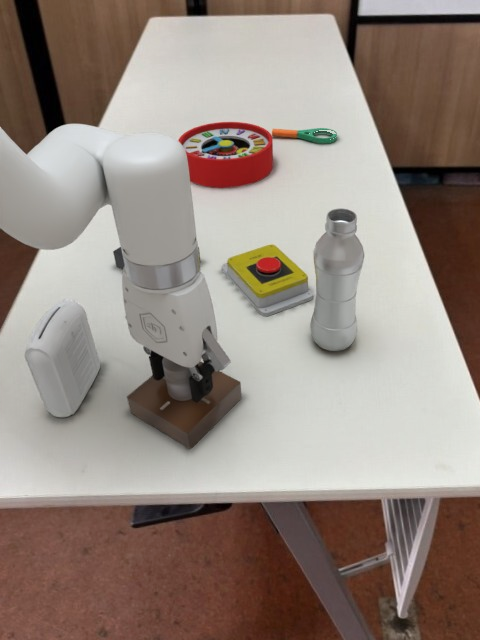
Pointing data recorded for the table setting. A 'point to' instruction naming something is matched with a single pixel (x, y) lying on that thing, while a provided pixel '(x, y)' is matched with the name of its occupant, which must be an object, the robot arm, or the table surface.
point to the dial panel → (184, 407)
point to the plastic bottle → (337, 281)
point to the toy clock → (228, 154)
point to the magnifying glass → (306, 134)
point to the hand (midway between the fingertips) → (183, 382)
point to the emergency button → (268, 279)
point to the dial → (177, 380)
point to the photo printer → (62, 357)
